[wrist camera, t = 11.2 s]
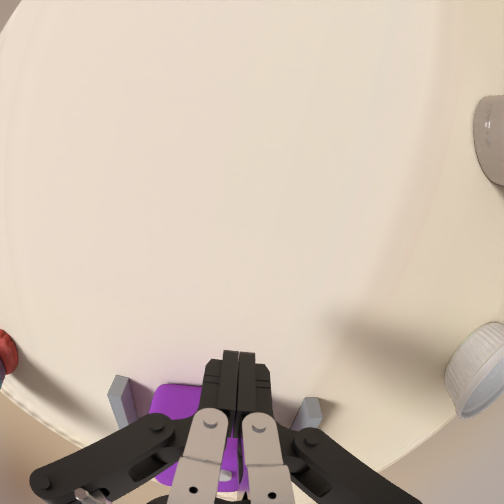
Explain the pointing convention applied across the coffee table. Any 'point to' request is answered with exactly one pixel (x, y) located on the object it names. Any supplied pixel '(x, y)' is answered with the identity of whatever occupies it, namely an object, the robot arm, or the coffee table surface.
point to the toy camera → (183, 406)
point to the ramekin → (477, 371)
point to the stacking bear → (7, 356)
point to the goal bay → (127, 414)
